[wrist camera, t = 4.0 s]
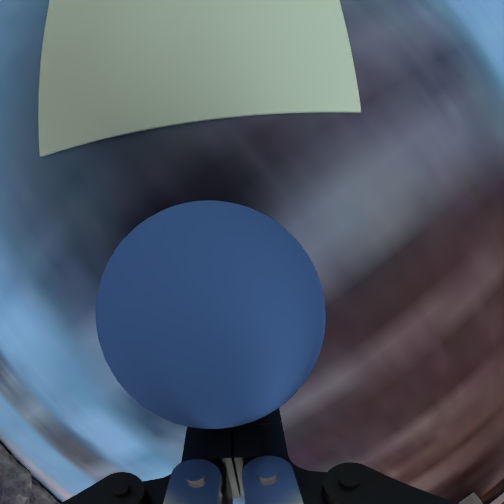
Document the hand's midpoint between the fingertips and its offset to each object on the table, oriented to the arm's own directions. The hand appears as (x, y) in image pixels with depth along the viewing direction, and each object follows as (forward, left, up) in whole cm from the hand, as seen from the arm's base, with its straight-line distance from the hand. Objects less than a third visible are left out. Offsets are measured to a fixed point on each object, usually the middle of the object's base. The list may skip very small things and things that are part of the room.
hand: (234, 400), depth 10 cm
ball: (0, +4, +1) cm, 4 cm away
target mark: (0, +16, -2) cm, 16 cm away
